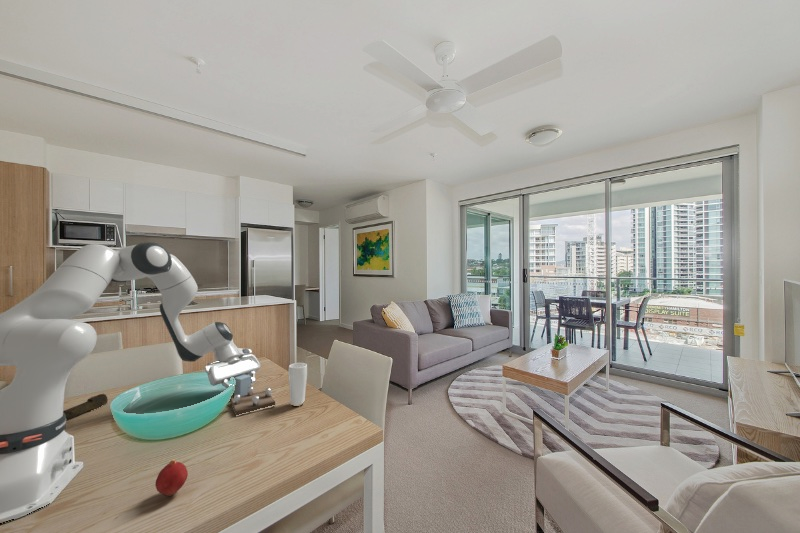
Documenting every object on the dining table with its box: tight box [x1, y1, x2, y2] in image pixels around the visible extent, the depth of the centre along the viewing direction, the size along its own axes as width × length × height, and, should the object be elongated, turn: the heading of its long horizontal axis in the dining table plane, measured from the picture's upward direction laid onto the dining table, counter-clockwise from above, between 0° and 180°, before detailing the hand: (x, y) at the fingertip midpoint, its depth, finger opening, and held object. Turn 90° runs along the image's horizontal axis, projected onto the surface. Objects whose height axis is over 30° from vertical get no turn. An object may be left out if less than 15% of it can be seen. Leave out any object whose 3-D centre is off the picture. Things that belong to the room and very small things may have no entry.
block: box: [234, 374, 252, 396], centre depth 122 cm, size 4×4×8 cm
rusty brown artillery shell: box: [63, 393, 109, 421], centre depth 105 cm, size 19×4×5 cm, turn 172°
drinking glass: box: [288, 362, 308, 405], centre depth 115 cm, size 7×7×15 cm
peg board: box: [230, 386, 276, 416], centre depth 114 cm, size 13×13×5 cm
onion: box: [154, 458, 189, 497], centre depth 68 cm, size 6×6×8 cm
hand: (243, 386), depth 121 cm, fingers open, 8 cm apart
